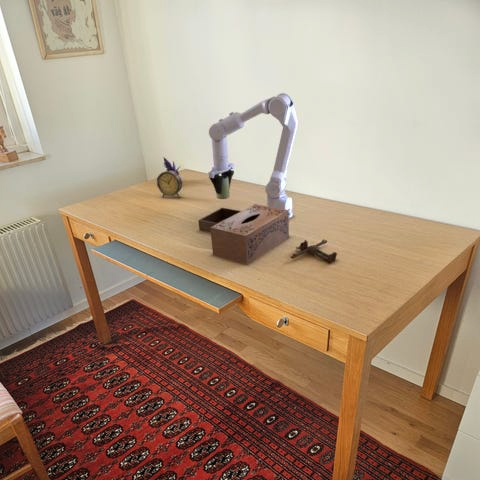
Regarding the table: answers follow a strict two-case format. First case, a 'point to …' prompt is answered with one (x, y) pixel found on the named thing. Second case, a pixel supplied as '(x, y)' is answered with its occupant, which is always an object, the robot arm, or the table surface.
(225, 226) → the tissue box cover
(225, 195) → the pen cup
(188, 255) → the table surface
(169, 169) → the creature
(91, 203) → the table surface
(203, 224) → the basket
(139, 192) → the table surface
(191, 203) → the table surface
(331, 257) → the brown figurine
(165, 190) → the alarm clock
